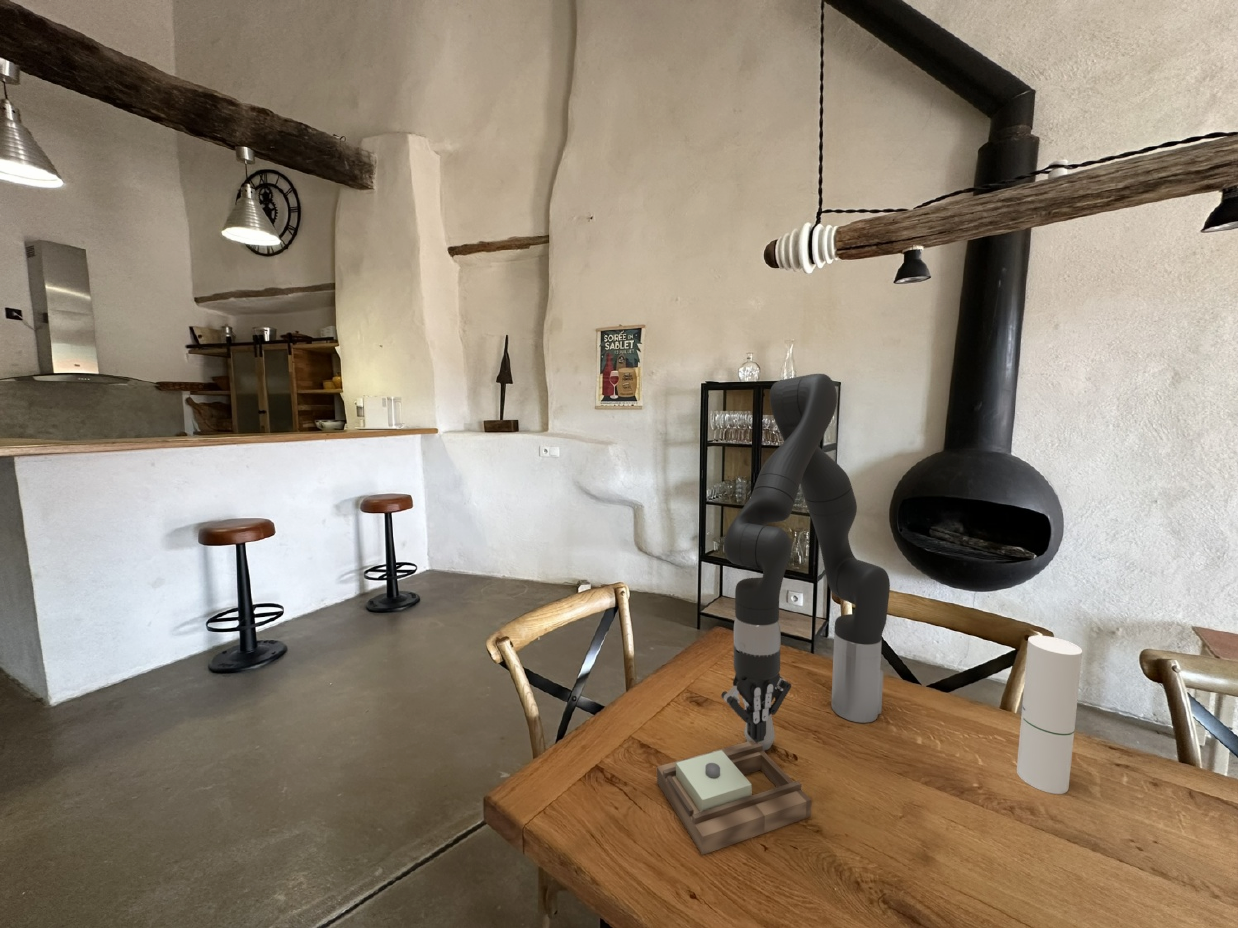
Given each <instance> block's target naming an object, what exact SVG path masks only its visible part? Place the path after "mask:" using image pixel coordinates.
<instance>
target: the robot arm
mask: <svg viewBox="0 0 1238 928" xmlns="http://www.w3.org/2000/svg"><path fill="white" fill-rule="evenodd" d="M837 392H838V391H837V389H836V385H835V383H834V381H833V380H832V379H831V377H830V376H829V375H827V374H825V373H812V374H807V375H802V376H795V377H791V378H786V379H781V380H777V381H776V382H774V383H773V384H772V386H771V388H770V390H769V406H770V410H771V413H772V416H773V419H774V421H775V425H776V427H777V429H778V431H779V433H780V436H781V438H782V440H783V442H782V444H781V445H780V446H779V447H777V448H776V450H775V451H774V452H773V453H772V454H771V455H770V456H769V457H768V458H767V459H766V461H765V462H764V464H763V465H762V467H761V469H760V471H759V473H758V476H757V479H756V482H755V484H754V487H753V491H752V492H751V495H750V498H749V499H748V500H747V502H746V503H745V505H744V506H743V507H742V509H741V510H740V512H739V513H738V514H737V515H736V517H735V518H734V519H733V520H732V522H731V523H730V525H729V526H728V528H727V530H726V532H725V536H724V539H723V552H724V554H725V557H726V558H727V560H728V561H729V562H731V564H734V565H737V566H742V567H747V568H753V569H758V570H762V572H763V573H762V577H748V578H743V579H741V580H739V581H738V582H737V583H736V586H735V588H734V589H735V591H734V599H735V601H734V603H735V604H734V607H735V608H734V623H733V669H734V673H735V675H734V677H733V680H732V685H733V686H732V687H731V689H729V690H728V691H726V690H724V691H723V692H722V693H721V694H720V697H721V698H722V699H723V700H724V701H725V703H726V704H727V705H728V706H729V707H730V708H731V709H732V710H733V711H734V712H735V714H736V715H737V716H738V717H739V718H741V720H743V722H745V724H746V723H747V733H748V735H749V736H750V737H751V738H752V739H753V740H754V741H755V742H756V743H757V742H760V741H763V740H764V737H765V735H766V720H767V719H768V716H769V715H770V714H771V716H774V715H776V714H777V713H778V710H779V709H780V707H781V705H782V704H783V702H784V700H785V698H786V697H787V696H788V693H789V691H790V690H791V688H792V684H791V683H790V682H788V681H787V680H786V679H785V678H783V677H782V676H781V673H780V672H781V641H782V640H781V639H782V638H781V635H782V634H781V633H782V632H781V625H780V595H781V589H782V585H783V580H784V577H785V573H786V570H787V567H788V565H789V561H790V558H791V555H792V546H793V545H792V540H791V538H790V535H789V534H788V533H787V531H786V530H785V529H783V528H781V527H777V526H772V525H767V524H771V523H778V522H780V523H781V522H784V521H786V520H787V519H789V517H790V516H791V514H792V512H793V508H794V506H795V502H796V499H797V496H798V492H799V489H800V487H801V492H802V494H803V495H802V496H803V498H804V501H805V505H806V508H807V511H808V513H809V516H810V518H811V521H812V524H813V527H814V531H815V534H816V538H817V541H818V544H819V548H820V553H821V558H822V562H823V567H824V572H825V576H826V581H827V585H828V587H829V589H830V591H831V592H832V593H833V595H834V596H836V597H837V598H839V599H840V600H842V601H845V602H847V603H850V604H853V605H855V606H854V611H853V612H854V613H848V614H842V615H839V616H838V617H837V618H836V619H835V621H834V633H833V658H832V662H833V663H832V683H831V686H832V687H831V707H830V708H831V709H832V710H833V712H834V713H835V714H836V715H838V716H839V717H840V718H843V719H845V720H847V721H851V722H855V723H860V724H864V723H865V724H867V723H872V722H874V721H876V719H878V715H882V707H883V690H884V689H883V688H884V670H882V669H881V662H882V661H881V658H882V642H883V641H882V640H883V632H884V629H885V627H886V624H887V617H888V608H889V599H890V591H891V587H890V586H891V585H890V583H891V582H890V578H889V574H888V572H887V571H886V569H884V568H883V567H881V566H880V565H879V566H878V565H876V564H873V563H870V562H867V561H863V560H859V559H857V558H856V556H855V555H854V553H853V551H852V548H851V544H850V539H849V533H850V531H851V529H852V526H853V523H854V521H855V518H856V516H857V512H858V505H857V504H858V503H857V500H856V496H855V493H854V490H853V486H852V483H851V480H850V477H849V475H848V473H846V471H845V469H843V468H842V466H840V465H839V464H838V463H837V462H836V461H835V459H833V458H832V456H830V455H829V454H827V453H826V452H825V451H824V450H823V449H822V448H821V447H820V446H819V445H820V443H821V441H822V439H823V437H824V435H825V433H826V431H827V429H828V427H829V425H830V424H831V422H832V419H833V417H834V415H835V413H836V408H837V404H838V393H837ZM739 695H740V696H741V698H742V703H743V704H744V708H743V707H742V706H741V705H740V704H741V700H740V697H739Z"/></svg>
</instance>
